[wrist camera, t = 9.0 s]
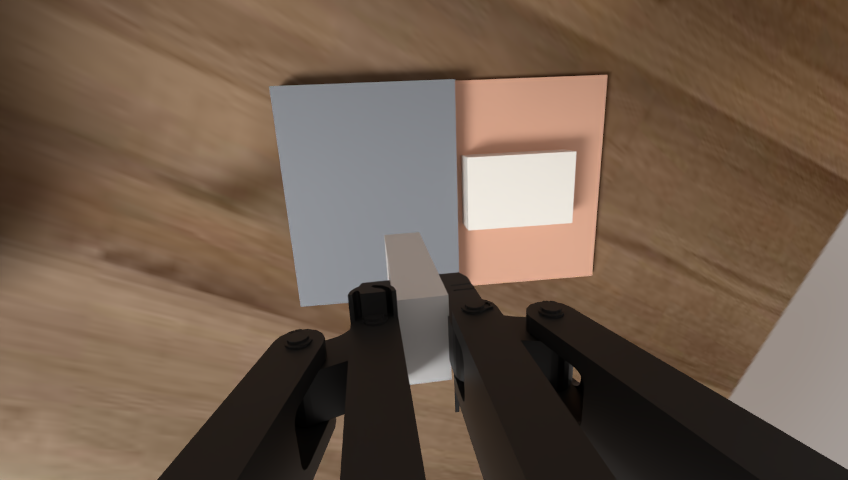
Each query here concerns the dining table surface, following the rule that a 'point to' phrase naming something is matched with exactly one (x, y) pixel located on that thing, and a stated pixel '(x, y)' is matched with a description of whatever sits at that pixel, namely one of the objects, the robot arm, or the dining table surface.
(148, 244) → the dining table surface
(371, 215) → the grey slab
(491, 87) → the mat
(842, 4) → the dining table surface
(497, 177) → the tile
